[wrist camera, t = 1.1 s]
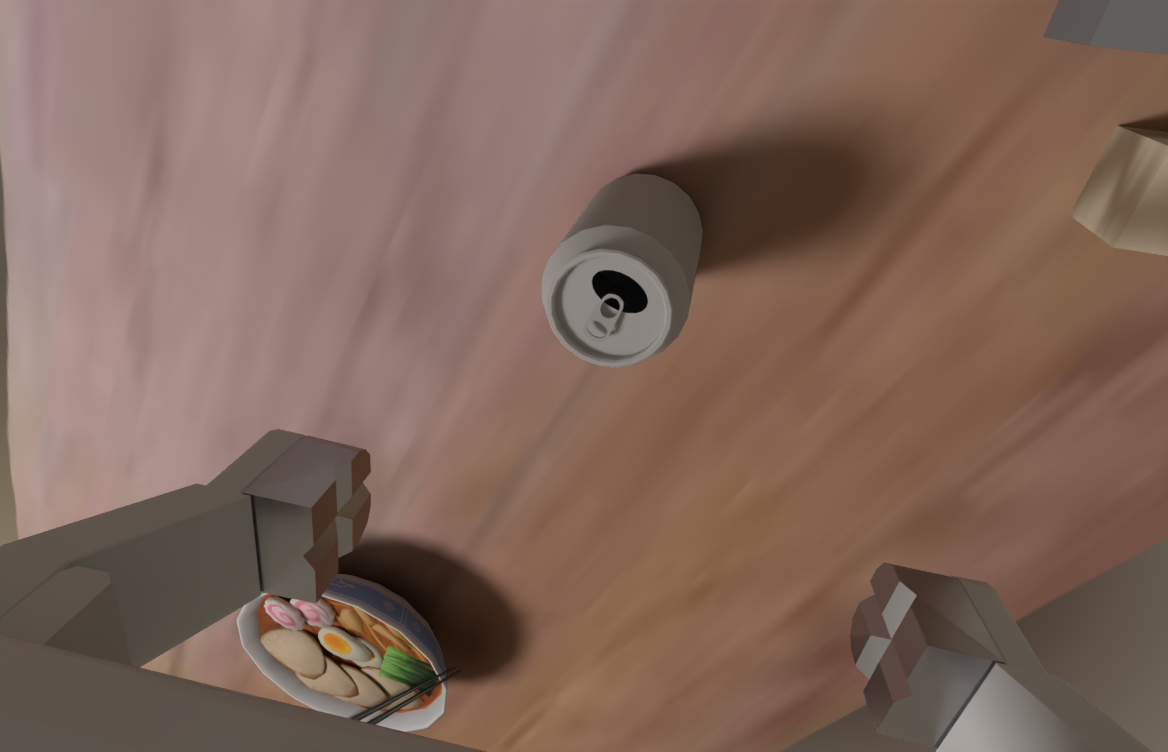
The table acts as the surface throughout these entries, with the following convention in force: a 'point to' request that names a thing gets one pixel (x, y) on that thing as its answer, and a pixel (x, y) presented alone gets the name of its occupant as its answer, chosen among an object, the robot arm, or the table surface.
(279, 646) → the ramen bowl
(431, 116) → the table surface
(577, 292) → the can
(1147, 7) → the grey block
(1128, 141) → the birch block
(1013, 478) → the table surface
